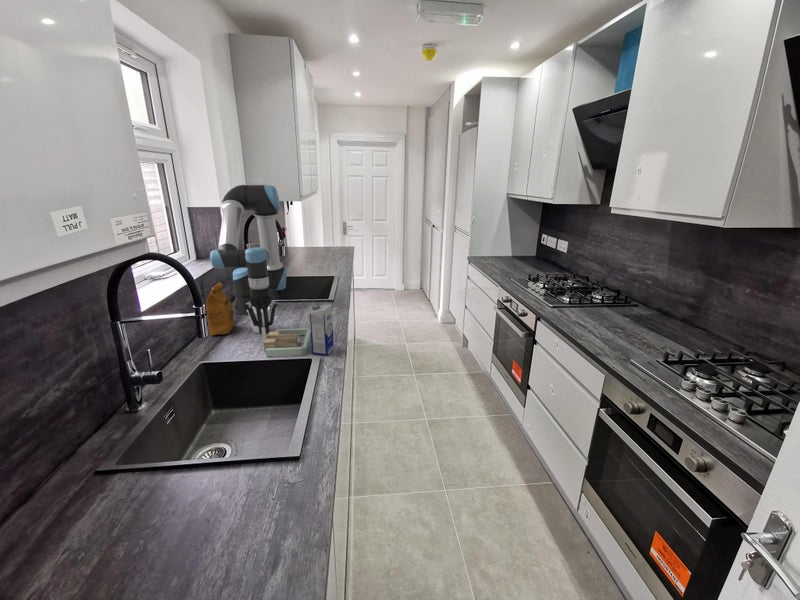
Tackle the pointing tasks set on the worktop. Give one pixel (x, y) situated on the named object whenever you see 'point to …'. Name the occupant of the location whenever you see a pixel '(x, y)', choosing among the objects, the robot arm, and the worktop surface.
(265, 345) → the t block
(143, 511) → the worktop surface
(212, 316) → the coffee package
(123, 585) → the worktop surface
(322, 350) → the milk carton
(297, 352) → the dock bay
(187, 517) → the worktop surface
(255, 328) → the cup
